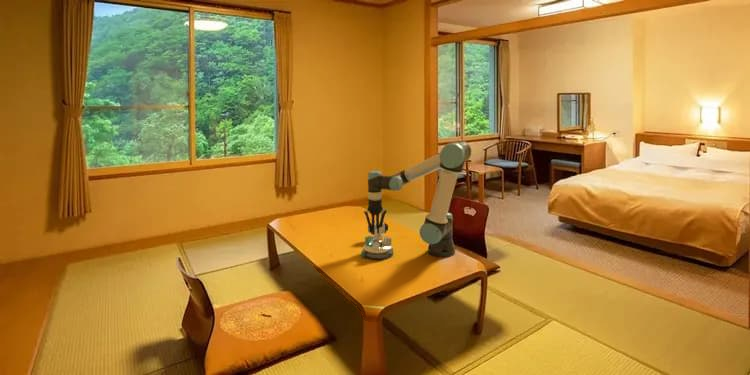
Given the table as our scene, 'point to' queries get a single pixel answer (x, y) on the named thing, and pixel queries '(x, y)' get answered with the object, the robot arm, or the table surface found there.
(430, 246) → the robot arm
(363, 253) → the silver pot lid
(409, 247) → the table surface
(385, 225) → the pneumatic valve
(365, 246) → the lathe chuck
